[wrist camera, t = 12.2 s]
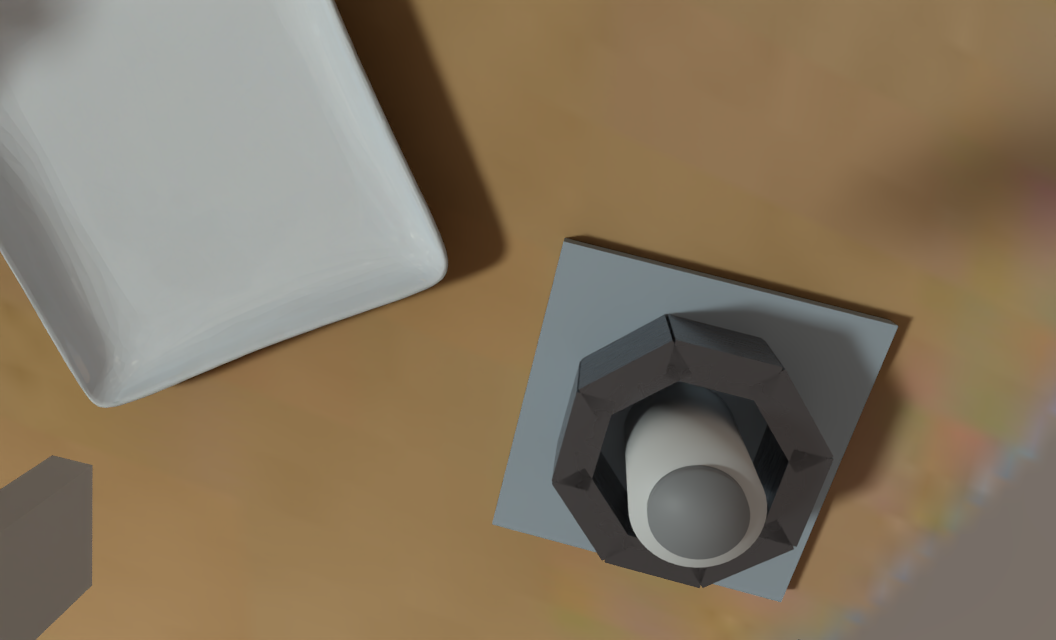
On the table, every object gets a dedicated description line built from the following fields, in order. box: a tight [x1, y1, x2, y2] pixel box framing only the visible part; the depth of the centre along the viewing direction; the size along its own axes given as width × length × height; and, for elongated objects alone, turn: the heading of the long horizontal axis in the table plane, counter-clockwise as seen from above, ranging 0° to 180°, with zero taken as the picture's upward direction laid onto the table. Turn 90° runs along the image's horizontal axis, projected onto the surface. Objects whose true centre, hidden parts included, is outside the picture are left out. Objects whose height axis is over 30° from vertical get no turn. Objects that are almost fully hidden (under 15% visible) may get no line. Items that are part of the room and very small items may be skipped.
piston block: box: [492, 238, 898, 602], centre depth 31 cm, size 16×16×8 cm
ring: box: [552, 314, 834, 588], centre depth 32 cm, size 12×12×4 cm
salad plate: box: [0, 0, 448, 408], centre depth 32 cm, size 21×21×3 cm
